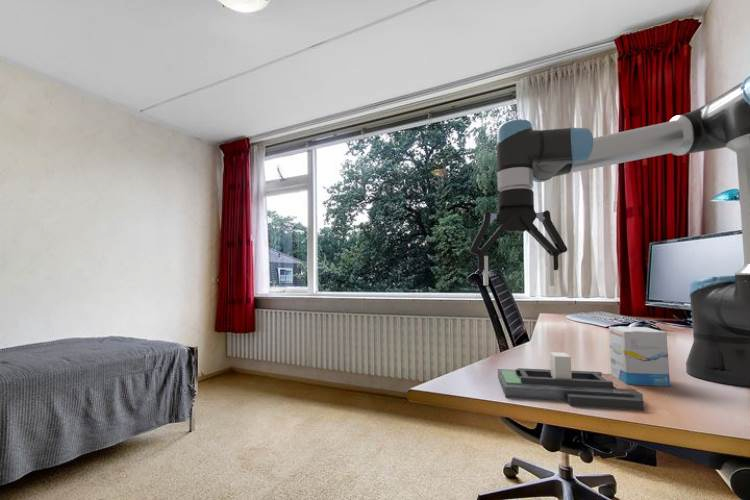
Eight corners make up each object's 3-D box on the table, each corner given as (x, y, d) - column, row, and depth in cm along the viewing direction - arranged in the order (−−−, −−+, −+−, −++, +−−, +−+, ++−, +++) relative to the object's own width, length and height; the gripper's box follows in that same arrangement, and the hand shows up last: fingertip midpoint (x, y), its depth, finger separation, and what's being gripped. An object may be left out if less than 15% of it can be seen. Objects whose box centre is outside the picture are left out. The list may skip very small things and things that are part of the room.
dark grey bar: (639, 407, 66) (639, 398, 66) (644, 410, 64) (643, 401, 64) (567, 402, 68) (567, 393, 69) (570, 405, 67) (569, 396, 67)
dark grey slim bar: (600, 379, 84) (600, 371, 84) (603, 381, 82) (603, 373, 82) (518, 374, 88) (517, 368, 88) (519, 376, 86) (518, 369, 86)
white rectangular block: (566, 376, 78) (565, 352, 78) (571, 381, 74) (570, 356, 74) (550, 375, 78) (549, 352, 79) (555, 380, 75) (554, 356, 75)
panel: (611, 383, 80) (611, 369, 80) (643, 405, 67) (642, 388, 67) (497, 377, 85) (497, 364, 86) (505, 397, 72) (504, 381, 72)
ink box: (671, 387, 77) (667, 331, 78) (627, 385, 79) (623, 331, 80) (649, 376, 86) (646, 326, 87) (610, 374, 88) (607, 325, 88)
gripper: (568, 192, 83) (572, 285, 82) (457, 196, 87) (458, 284, 86) (581, 184, 76) (585, 286, 74) (459, 189, 80) (461, 285, 78)
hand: (517, 285), depth 80 cm, fingers open, 13 cm apart
